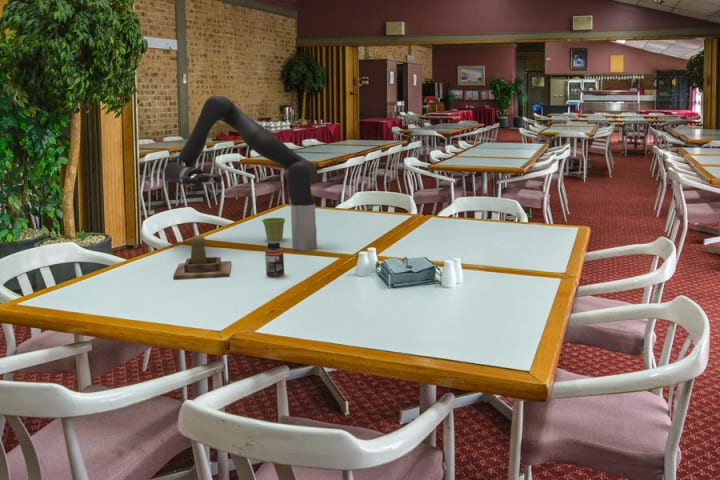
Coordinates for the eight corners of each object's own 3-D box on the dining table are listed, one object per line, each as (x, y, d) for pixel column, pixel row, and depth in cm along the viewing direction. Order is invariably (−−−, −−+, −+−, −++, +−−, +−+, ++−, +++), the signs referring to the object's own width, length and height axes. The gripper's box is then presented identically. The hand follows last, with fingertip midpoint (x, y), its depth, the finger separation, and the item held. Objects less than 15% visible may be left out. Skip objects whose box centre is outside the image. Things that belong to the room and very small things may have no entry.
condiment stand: (231, 264, 264) (230, 254, 264) (229, 276, 247) (228, 265, 246) (179, 266, 262) (178, 256, 261) (173, 279, 245) (172, 268, 244)
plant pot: (258, 242, 302) (257, 220, 300) (270, 237, 310) (269, 217, 309) (279, 243, 298) (278, 222, 297) (290, 239, 307) (289, 218, 305)
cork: (204, 270, 251) (202, 238, 248) (187, 270, 252) (185, 238, 250) (211, 266, 256) (209, 234, 254) (194, 266, 258) (192, 234, 255)
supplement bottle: (274, 272, 252) (272, 239, 250) (288, 274, 249) (286, 241, 246) (262, 276, 247) (260, 242, 245) (276, 278, 244) (274, 244, 242)
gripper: (173, 168, 280) (188, 172, 266) (209, 166, 287) (226, 169, 274) (174, 188, 281) (190, 193, 268) (210, 185, 289) (227, 189, 275)
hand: (208, 181), depth 271 cm, fingers open, 8 cm apart
